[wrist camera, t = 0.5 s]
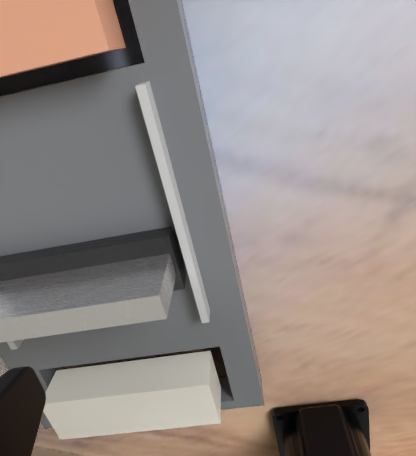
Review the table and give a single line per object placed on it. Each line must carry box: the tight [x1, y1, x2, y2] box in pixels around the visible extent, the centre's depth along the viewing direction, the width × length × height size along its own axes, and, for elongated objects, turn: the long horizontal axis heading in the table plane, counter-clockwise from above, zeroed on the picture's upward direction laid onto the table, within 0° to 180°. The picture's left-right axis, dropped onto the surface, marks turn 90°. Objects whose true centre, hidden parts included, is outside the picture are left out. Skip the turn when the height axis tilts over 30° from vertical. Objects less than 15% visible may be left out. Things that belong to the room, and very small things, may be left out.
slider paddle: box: [0, 226, 186, 343], centre depth 18 cm, size 3×10×4 cm, turn 102°
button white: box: [43, 351, 221, 440], centre depth 23 cm, size 3×10×2 cm, turn 102°
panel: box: [0, 0, 264, 429], centre depth 20 cm, size 26×15×3 cm, turn 12°
